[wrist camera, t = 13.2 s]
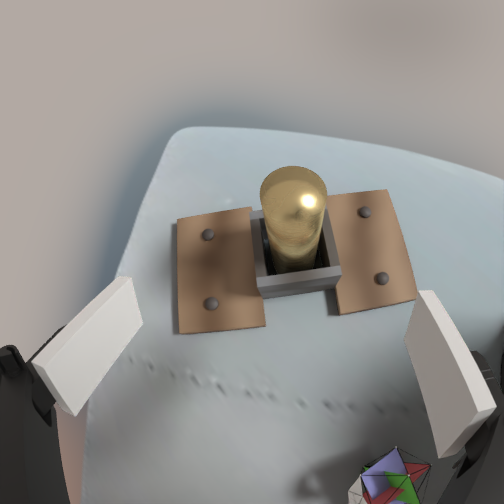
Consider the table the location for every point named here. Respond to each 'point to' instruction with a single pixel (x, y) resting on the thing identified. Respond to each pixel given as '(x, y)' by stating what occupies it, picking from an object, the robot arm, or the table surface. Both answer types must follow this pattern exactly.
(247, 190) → the table surface
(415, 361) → the robot arm
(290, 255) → the gold knob
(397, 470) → the geometric puzzle
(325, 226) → the brown flat wooden board
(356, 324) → the table surface
